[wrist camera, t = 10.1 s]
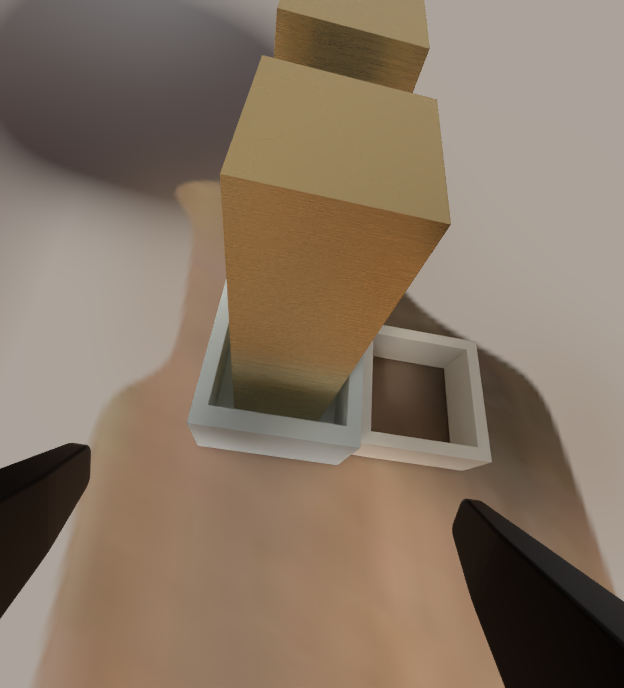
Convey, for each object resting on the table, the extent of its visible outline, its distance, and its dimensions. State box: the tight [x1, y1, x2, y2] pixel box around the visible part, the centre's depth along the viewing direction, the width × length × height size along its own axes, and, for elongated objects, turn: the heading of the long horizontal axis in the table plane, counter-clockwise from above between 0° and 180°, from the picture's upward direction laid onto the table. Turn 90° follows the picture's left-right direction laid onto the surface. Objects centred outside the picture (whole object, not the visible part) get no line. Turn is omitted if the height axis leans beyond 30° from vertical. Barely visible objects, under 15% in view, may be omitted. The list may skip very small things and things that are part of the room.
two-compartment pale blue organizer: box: [187, 279, 364, 465], centre depth 19 cm, size 14×7×4 cm, turn 174°
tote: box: [352, 325, 492, 471], centre depth 19 cm, size 6×6×2 cm
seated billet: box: [274, 0, 430, 93], centre depth 16 cm, size 4×4×12 cm
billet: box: [220, 55, 451, 421], centre depth 13 cm, size 4×4×12 cm
